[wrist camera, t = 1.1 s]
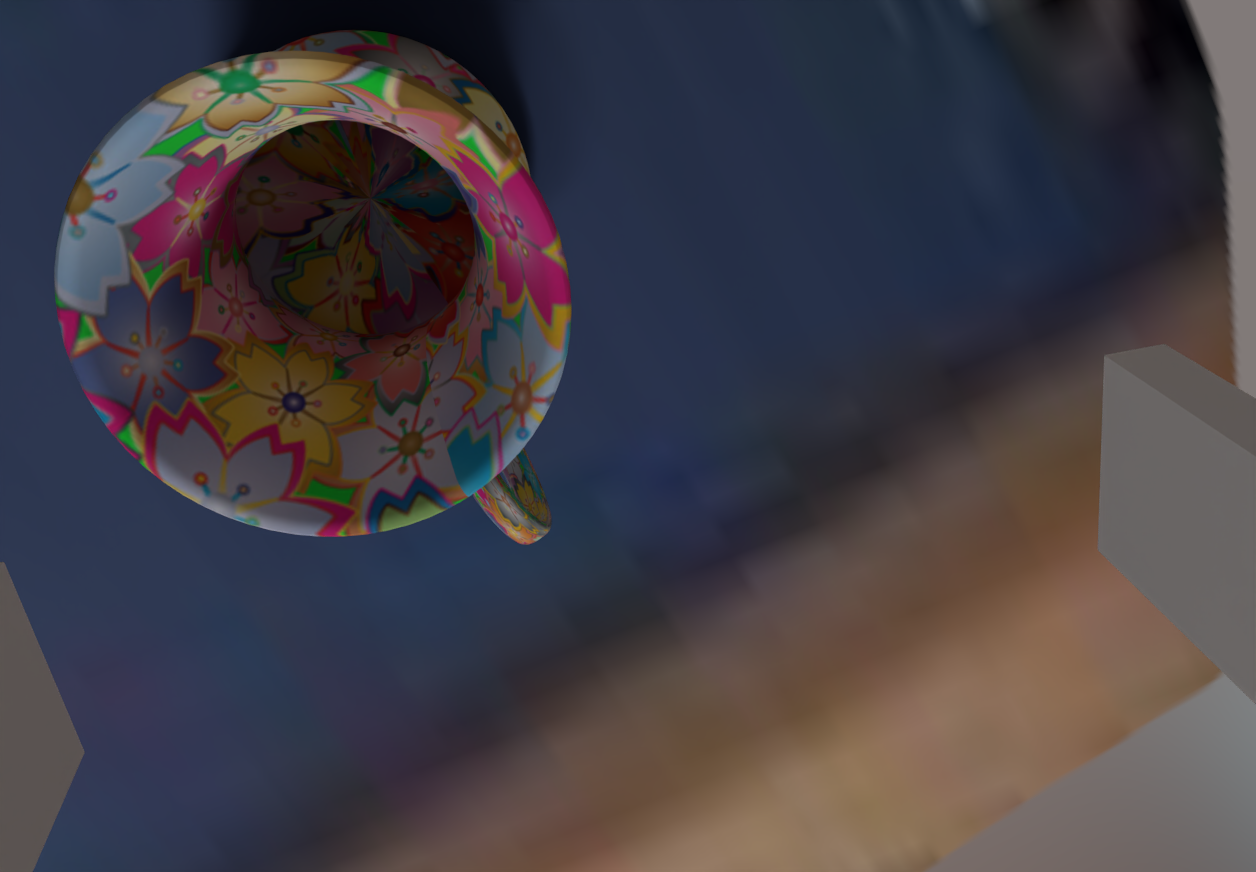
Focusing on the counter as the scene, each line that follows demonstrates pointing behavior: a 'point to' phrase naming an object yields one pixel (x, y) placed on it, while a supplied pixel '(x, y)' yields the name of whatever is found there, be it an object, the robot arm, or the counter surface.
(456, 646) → the counter surface
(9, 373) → the counter surface
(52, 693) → the robot arm
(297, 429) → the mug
